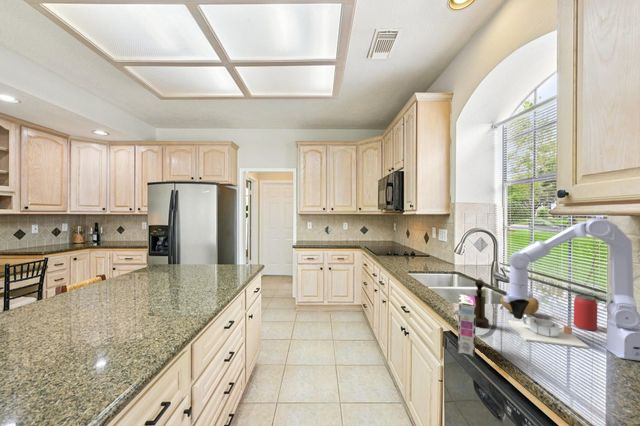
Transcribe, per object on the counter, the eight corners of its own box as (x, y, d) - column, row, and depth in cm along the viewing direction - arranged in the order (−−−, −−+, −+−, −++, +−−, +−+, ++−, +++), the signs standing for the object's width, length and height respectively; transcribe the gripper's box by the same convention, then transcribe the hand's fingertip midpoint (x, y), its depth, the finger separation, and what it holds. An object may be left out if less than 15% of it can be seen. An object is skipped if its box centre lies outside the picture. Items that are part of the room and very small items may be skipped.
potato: (498, 307, 128) (498, 290, 128) (535, 312, 122) (535, 294, 122) (502, 314, 119) (502, 296, 119) (542, 320, 113) (542, 301, 113)
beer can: (601, 332, 103) (602, 300, 103) (581, 330, 104) (581, 299, 104) (588, 324, 109) (589, 295, 109) (569, 323, 111) (569, 294, 110)
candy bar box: (475, 357, 85) (476, 305, 85) (457, 354, 87) (458, 303, 87) (474, 342, 95) (474, 295, 95) (458, 339, 97) (458, 293, 97)
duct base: (589, 348, 91) (589, 334, 91) (525, 340, 96) (525, 327, 96) (560, 327, 107) (560, 315, 107) (507, 321, 112) (507, 310, 112)
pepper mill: (478, 320, 114) (478, 277, 113) (492, 326, 107) (493, 281, 107) (466, 322, 111) (466, 278, 111) (479, 329, 105) (480, 282, 105)
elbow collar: (565, 336, 97) (565, 327, 97) (543, 336, 97) (543, 327, 97) (534, 321, 111) (534, 313, 111) (514, 321, 110) (514, 313, 110)
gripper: (519, 279, 112) (519, 311, 112) (495, 282, 106) (495, 317, 107) (538, 283, 105) (538, 318, 106) (514, 287, 100) (513, 324, 100)
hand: (517, 318), depth 106 cm, fingers closed
